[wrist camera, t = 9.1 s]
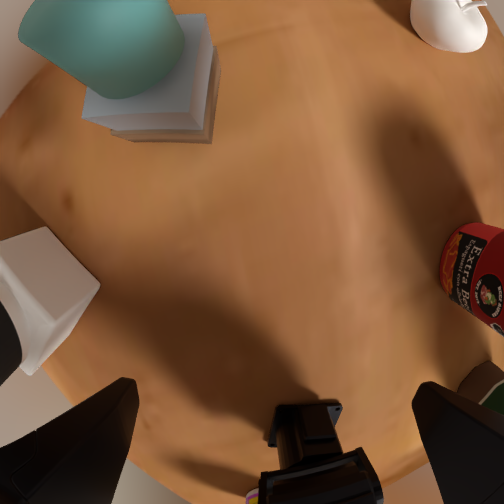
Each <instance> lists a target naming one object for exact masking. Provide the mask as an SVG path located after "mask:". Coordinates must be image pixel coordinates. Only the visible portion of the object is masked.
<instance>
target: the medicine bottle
mask: <svg viewBox="0 0 504 504" xmlns="http://www.w3.org/2000/svg"><path fill="white" fill-rule="evenodd" d="M99 288H100V283H99V281H98V280H97V279H96V278H95V277H94V276H93V275H92V274H91V273H90V272H89V271H88V270H87V269H86V268H85V267H84V266H83V265H82V264H81V263H80V262H79V261H78V260H77V259H76V258H75V257H74V256H73V255H72V254H71V253H70V252H69V251H68V250H67V249H66V247H65V246H64V245H63V244H62V243H61V242H60V241H59V240H58V239H57V238H56V236H55V235H54V234H53V233H52V232H51V231H50V230H49V228H48V227H46V226H44V227H41V228H37V229H34V230H31V231H28V232H25V233H22V234H19V235H16V236H13V237H10V238H7V239H4V240H2V241H0V386H1V385H2V384H3V382H4V381H5V380H6V379H7V378H8V377H9V376H10V375H11V374H12V373H13V372H14V371H15V370H16V369H17V368H18V367H20V368H21V369H22V370H23V371H24V372H25V373H26V374H27V375H30V376H31V375H32V374H33V373H34V372H35V371H36V370H37V369H38V368H39V367H40V366H41V364H42V363H43V362H44V361H45V360H46V359H47V358H48V357H49V356H50V355H51V354H52V353H53V351H54V350H55V349H56V348H57V347H58V346H59V345H60V344H61V343H62V342H63V341H64V340H65V339H66V338H67V337H68V336H69V335H70V333H71V331H72V330H73V328H74V327H75V325H76V323H77V322H78V320H79V319H80V317H81V315H82V314H83V312H84V311H85V309H86V308H87V306H88V305H89V303H90V302H91V300H92V299H93V297H94V296H95V294H96V293H97V291H98V290H99Z"/></svg>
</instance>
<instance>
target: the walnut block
mask: <svg viewBox="0 0 504 504" xmlns="http://www.w3.org/2000/svg"><path fill="white" fill-rule="evenodd" d="M220 74H221V67H220V61H219V56H218V51H217V46H213V55H212V61H211V68H210V74H209V82H208V89H207V96H206V104H205V113H204V121H203V130H190V129H146V130H121V131H116V130H113V129H111V135H113V136H117V137H120V138H123V139H126V140H129V141H132V142H176V143H202V144H212V137H213V128H214V120H215V111H216V103H217V96H218V88H219V81H220Z"/></svg>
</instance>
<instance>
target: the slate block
mask: <svg viewBox="0 0 504 504" xmlns="http://www.w3.org/2000/svg"><path fill="white" fill-rule="evenodd" d="M175 17H176V19H177V21H178V23H179V25H180V27H181V29H182V31H183V33H184V36H185V43H184V48H183V52H182V54H181V56H180V58H179V60H178V61H177V63H176V64H175V66H174V67H173V68H172V70H171V71H170V72H169V73H168V74H167V75H166V76H165V77H164V78H163V79H162V80H160V81H159V82H158V83H157V84H155V85H154V86H152V87H151V88H149V89H147V90H146V91H144V92H142V93H140V94H137V95H135V96H132V97H129V98H125V99H107V98H104V97H102V96H100V95H99V94H97V93H96V92H95V91H93V90H92V89H90V88H89V87H87V90H86V95H85V101H84V107H83V113H82V119H85V120H88V121H91V122H94V123H96V124H99V125H102V126H105V127H108V128H111V129H113V130H116V131H121V130H146V129H190V130H203V121H204V113H205V104H206V96H207V89H208V82H209V74H210V68H211V61H212V55H213V45H212V41H211V36H210V32H209V27H208V23H207V18H206V14H181V15H175Z"/></svg>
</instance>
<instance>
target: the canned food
mask: <svg viewBox="0 0 504 504" xmlns="http://www.w3.org/2000/svg"><path fill="white" fill-rule="evenodd" d="M440 280H441V284H442V287H443V289H444V291H445V292H446V294H447V295H448V296H449V298H450V299H451V300H453V301H454V302H455V303H457V304H458V305H460V306H461V307H463V308H464V309H466V310H467V311H469V312H470V313H471V314H473V315H474V316H476V317H477V318H478V319H480V320H481V321H483V322H484V323H485V324H487V325H488V326H490V327H491V328H492V329H494V330H495V331H496V332H498V333H499V334H500V335H502V336H503V337H504V229H501V228H497V227H494V226H490V225H486V224H483V223H478V222H475V223H469V224H465V225H463V226H461V227H459V228H458V229H457V230H456V231H455V232H454V233H453V234H452V235H451V237H450V238H449V240H448V241H447V243H446V246H445V248H444V250H443V253H442V257H441V262H440Z"/></svg>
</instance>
